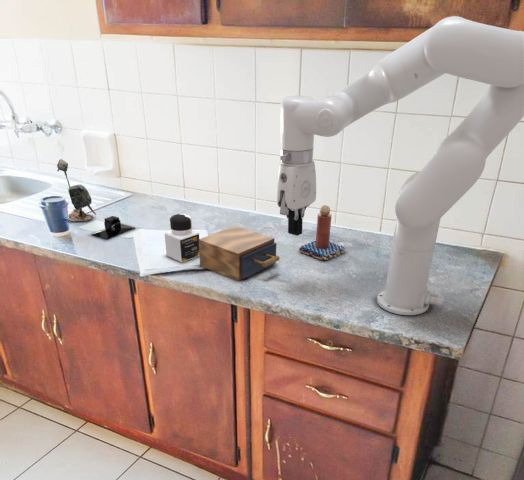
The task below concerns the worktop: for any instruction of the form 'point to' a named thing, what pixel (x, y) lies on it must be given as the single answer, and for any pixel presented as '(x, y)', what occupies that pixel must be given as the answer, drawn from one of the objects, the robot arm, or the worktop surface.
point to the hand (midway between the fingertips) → (295, 233)
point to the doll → (323, 227)
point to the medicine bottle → (182, 239)
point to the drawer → (258, 259)
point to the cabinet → (229, 249)
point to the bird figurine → (77, 197)
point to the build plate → (112, 228)
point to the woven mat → (322, 250)
